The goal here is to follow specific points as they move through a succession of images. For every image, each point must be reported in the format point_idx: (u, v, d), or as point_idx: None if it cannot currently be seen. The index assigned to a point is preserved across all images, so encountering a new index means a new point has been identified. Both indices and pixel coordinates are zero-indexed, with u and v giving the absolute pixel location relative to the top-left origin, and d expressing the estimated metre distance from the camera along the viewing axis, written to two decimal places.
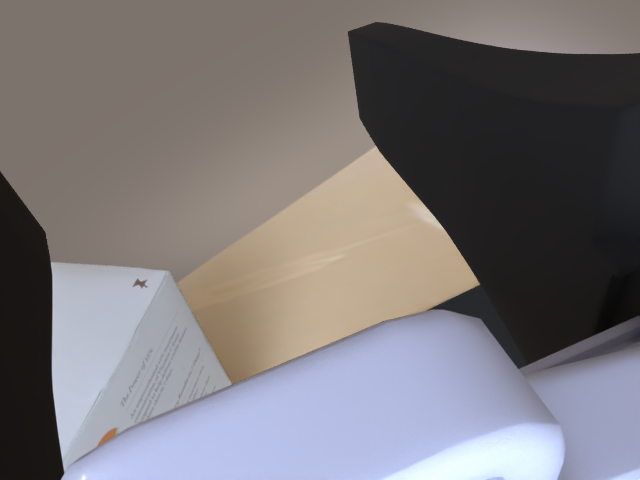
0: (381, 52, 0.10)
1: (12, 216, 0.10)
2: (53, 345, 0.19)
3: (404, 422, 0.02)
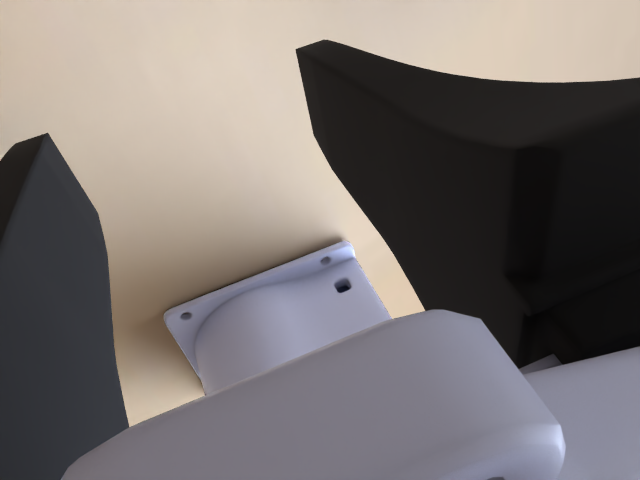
0: (324, 72, 0.09)
1: (72, 194, 0.10)
2: None
3: (404, 422, 0.02)
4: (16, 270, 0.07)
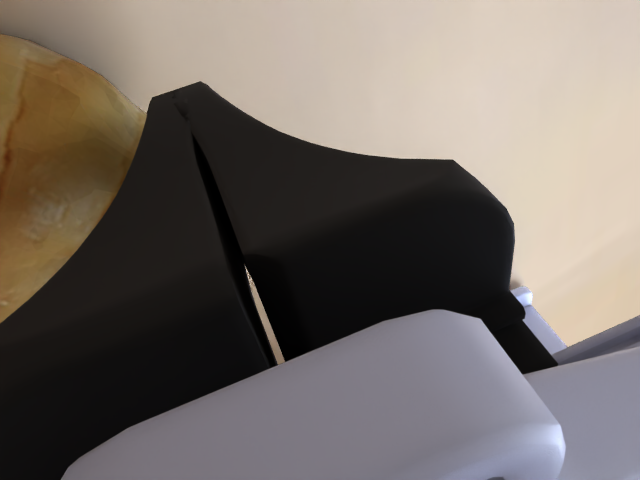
0: None
1: None
2: None
3: (404, 423, 0.02)
4: (210, 199, 0.07)
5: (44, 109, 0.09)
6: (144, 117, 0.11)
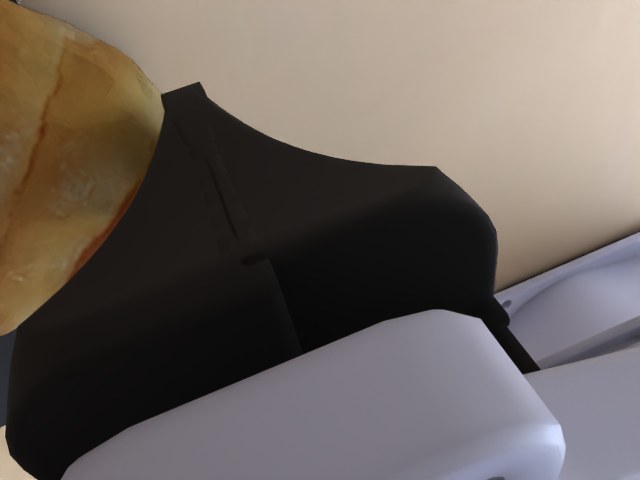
0: None
1: None
2: None
3: (404, 422, 0.02)
4: None
5: (80, 86, 0.10)
6: None
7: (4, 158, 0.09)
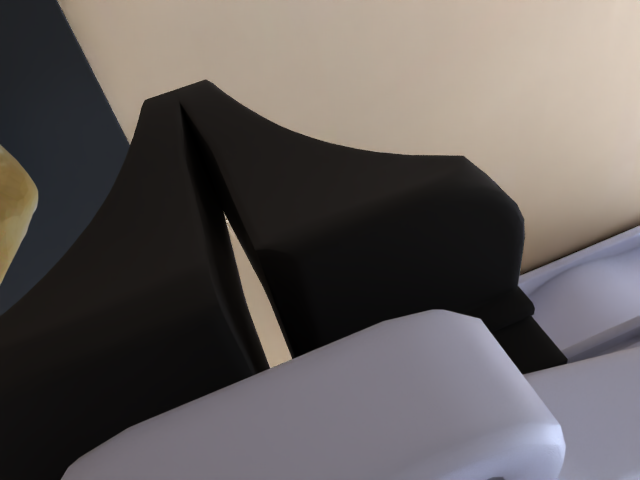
0: (188, 118, 0.09)
1: None
2: None
3: (404, 422, 0.02)
4: (199, 202, 0.07)
5: None
6: (7, 158, 0.11)
7: None
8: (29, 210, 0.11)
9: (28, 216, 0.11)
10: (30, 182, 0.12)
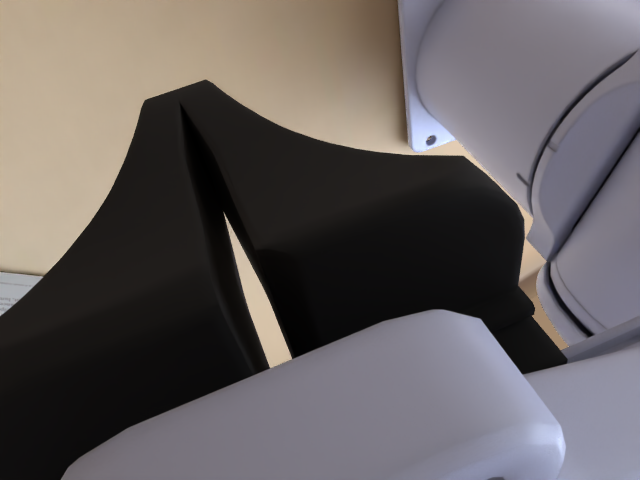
0: (188, 118, 0.09)
1: None
2: None
3: (403, 422, 0.02)
4: (199, 203, 0.07)
5: None
6: None
7: None
8: None
9: None
10: None
